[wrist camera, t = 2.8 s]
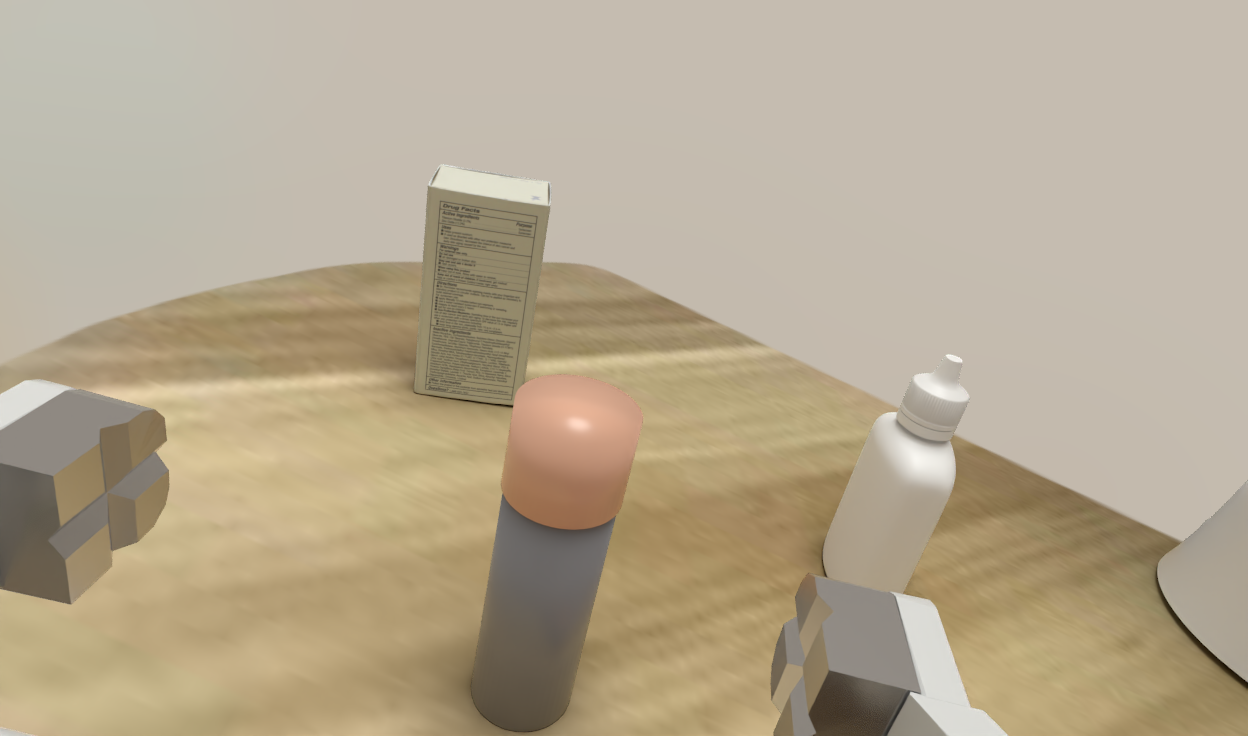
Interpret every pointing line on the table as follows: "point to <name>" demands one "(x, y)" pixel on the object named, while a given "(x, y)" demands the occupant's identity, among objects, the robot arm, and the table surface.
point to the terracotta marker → (550, 543)
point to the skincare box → (479, 283)
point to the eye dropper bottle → (898, 485)
